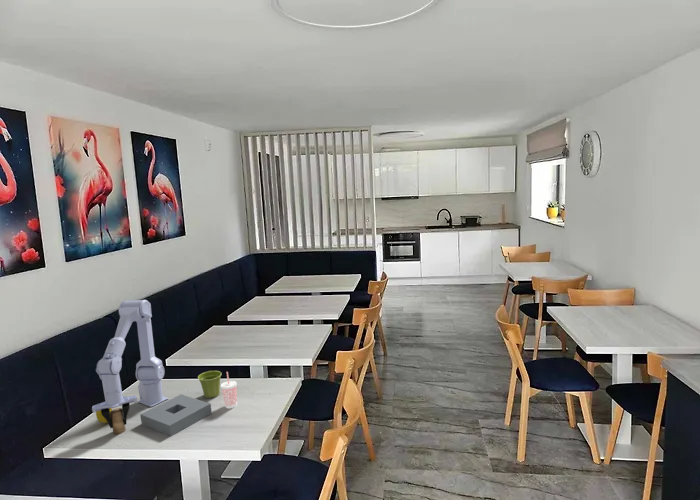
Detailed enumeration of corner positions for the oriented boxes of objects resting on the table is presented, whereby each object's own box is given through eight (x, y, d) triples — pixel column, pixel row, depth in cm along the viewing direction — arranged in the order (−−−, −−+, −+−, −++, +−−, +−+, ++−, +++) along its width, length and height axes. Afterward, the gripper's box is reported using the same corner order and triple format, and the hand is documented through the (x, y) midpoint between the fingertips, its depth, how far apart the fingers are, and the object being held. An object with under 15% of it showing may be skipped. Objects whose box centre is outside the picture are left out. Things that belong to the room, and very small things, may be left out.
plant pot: (214, 388, 208) (211, 369, 207) (228, 392, 203) (226, 373, 201) (195, 397, 201) (193, 377, 199) (210, 402, 195) (207, 381, 194)
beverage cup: (220, 408, 189) (215, 374, 187) (229, 401, 195) (225, 368, 192) (233, 410, 187) (228, 375, 185) (242, 402, 192) (238, 369, 190)
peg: (111, 432, 177) (107, 412, 175) (121, 427, 180) (118, 407, 179) (117, 435, 174) (113, 414, 173) (127, 430, 178) (124, 409, 176)
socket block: (141, 424, 181) (140, 414, 180) (182, 403, 196) (181, 394, 195) (171, 436, 171) (169, 425, 170) (211, 413, 185) (210, 403, 185)
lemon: (117, 420, 186) (114, 400, 185) (105, 427, 181) (102, 407, 180) (106, 418, 188) (102, 399, 186) (94, 426, 183) (91, 406, 181)
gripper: (89, 399, 168) (95, 436, 170) (134, 389, 174) (140, 424, 176) (90, 392, 174) (96, 427, 177) (134, 382, 180) (139, 416, 183)
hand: (118, 425), depth 177 cm, fingers closed on peg, 4 cm apart
